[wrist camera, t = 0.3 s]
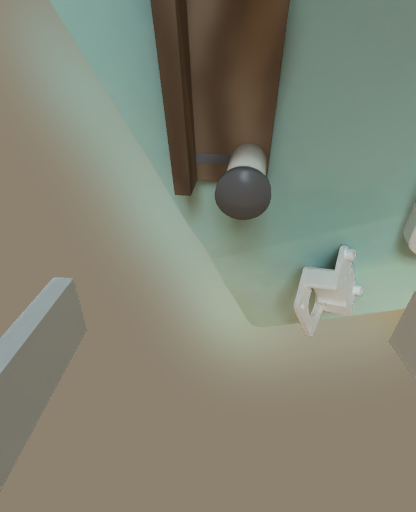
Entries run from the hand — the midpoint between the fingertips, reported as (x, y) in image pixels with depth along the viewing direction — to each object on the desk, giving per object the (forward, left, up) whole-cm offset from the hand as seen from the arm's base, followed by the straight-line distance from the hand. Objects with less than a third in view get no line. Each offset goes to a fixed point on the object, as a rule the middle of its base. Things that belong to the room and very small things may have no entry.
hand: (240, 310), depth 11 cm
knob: (+4, +4, -26) cm, 26 cm away
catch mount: (+1, -6, -27) cm, 28 cm away
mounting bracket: (+1, +28, -28) cm, 39 cm away
